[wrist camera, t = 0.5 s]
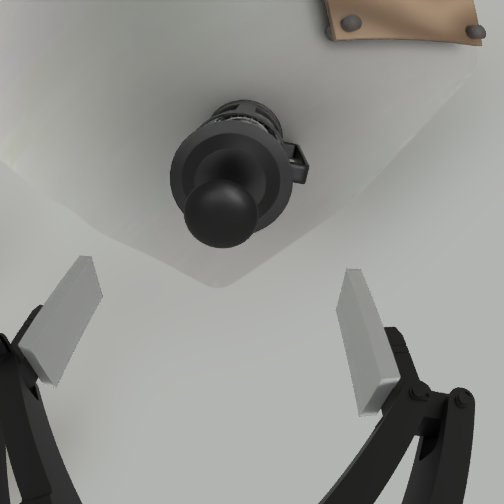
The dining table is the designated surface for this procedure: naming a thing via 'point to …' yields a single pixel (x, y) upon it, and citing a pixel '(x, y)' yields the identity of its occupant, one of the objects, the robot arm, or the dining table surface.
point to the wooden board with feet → (404, 20)
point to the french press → (235, 174)
